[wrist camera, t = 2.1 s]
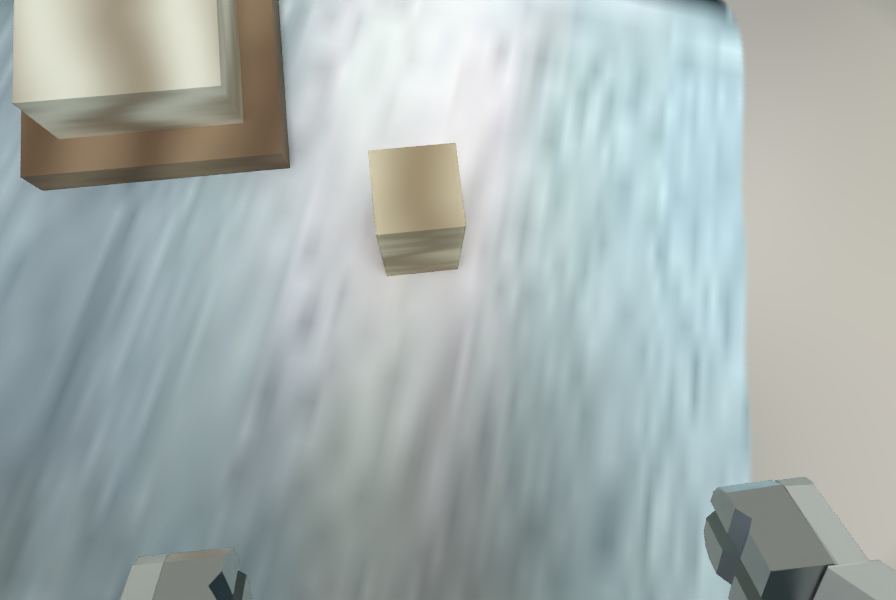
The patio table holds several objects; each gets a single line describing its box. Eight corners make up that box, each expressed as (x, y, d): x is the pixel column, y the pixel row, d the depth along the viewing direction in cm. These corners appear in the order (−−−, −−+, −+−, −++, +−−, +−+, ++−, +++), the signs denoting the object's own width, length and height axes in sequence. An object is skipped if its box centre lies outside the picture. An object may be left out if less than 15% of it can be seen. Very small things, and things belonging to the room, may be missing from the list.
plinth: (42, 190, 37) (-32, 145, 31) (43, -27, 39) (-24, -107, 33) (289, 167, 37) (264, 119, 32) (275, -45, 40) (248, -126, 34)
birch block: (387, 276, 36) (376, 234, 29) (380, 208, 37) (368, 150, 29) (457, 269, 37) (465, 226, 29) (449, 202, 37) (455, 142, 30)
